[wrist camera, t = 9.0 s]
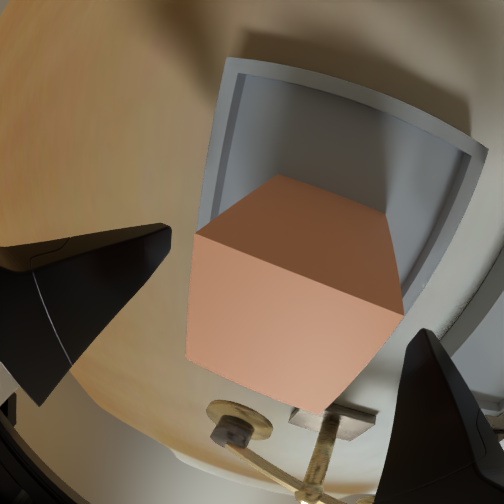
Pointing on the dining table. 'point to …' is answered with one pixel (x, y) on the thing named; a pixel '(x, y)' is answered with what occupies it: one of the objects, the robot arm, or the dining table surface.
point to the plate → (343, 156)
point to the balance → (327, 424)
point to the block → (292, 292)
